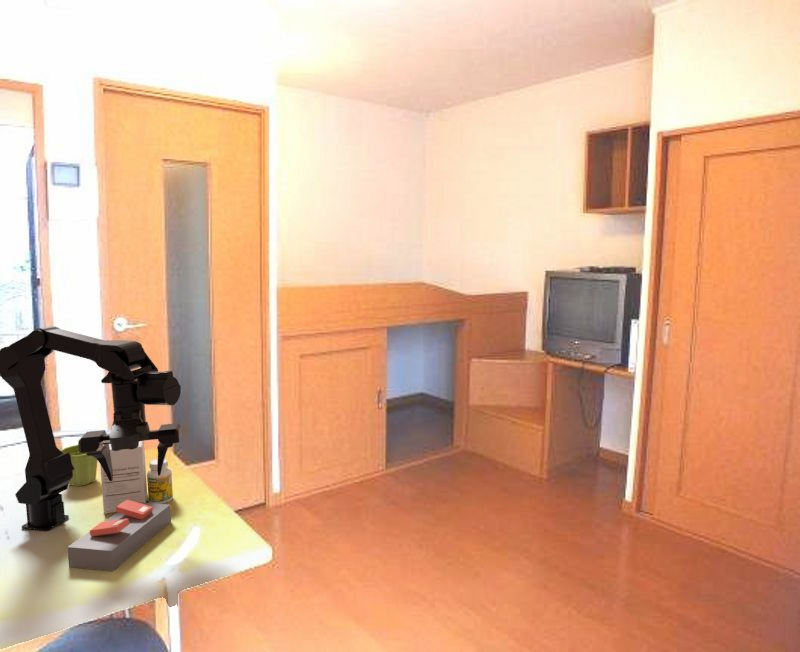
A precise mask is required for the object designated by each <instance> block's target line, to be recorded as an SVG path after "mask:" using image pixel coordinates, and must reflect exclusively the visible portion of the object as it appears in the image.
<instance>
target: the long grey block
mask: <svg viewBox="0 0 800 652" xmlns="http://www.w3.org/2000/svg"><path fill="white" fill-rule="evenodd" d="M138 503H141V504H145V505H148V506H152V507H153V509H152V513H150V514H149V515H148V516H146V517H145V518H144V519H142V520H141V519H138V518H134V517H131V516H127V515H124V514H121V513H117V512H115V513H114V514H113V515H111V516H110V517H108V518H107V519H105V520H104V521H103V522H106V521H113V520H120V519H127V518H128V519H129V523H130V524H129V525H128V526H126V527H125V528H124V529H122V530H121V531H120V532H118V533H112V534H105V535H98V536H91V535H90V531H89V532H87V533H85V534H84V535H83V536H81V537H80V538H79V539H77V540H75V541H74V542H72V543H71V544H69V545H68V546H67V557H68V559H67V561H68V568H73V569H74V568H75V569H85V570H87V569H88V570H94V571H95V570H97V571H106V572H107V571H108V572H114V571H115V570H116V569H117V568H119V566H120V565H122V564H123V563H124V562H126V561H127V560H129V558H130V557H131V556H132V555H134V554H135V553H136V552H137V551H138V550H139V549H141V548H142V547H143V546H144V545H146V544H147V543H148V542H149V541H150V540H152V539H153V538H154V537H155V536H156V535H157V534H159V533H160V532H161V531H162V530H163V529H165V528H166V527H167V526H169V524H171V523H172V514H171V513H172V512H171V504H167V503H163V504H156V503H150V502H146V503H143V502H138Z"/></svg>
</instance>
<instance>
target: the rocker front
mask: <svg viewBox="0 0 800 652" xmlns="http://www.w3.org/2000/svg"><path fill="white" fill-rule="evenodd" d="M129 524H130V523H129V519H128V518H127V519H120V520H113V521H106V522H104V521H100V522H99V523H98V524H97V525H95V526H94V527H92V528H91V529H89V530H88V531H89V532H90V535H91V536H98V535H105V534H112V533H118V532H120V531H121V530H122V529H124V528H125V527H126V526H128V525H129Z"/></svg>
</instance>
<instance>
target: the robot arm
mask: <svg viewBox="0 0 800 652" xmlns="http://www.w3.org/2000/svg"><path fill="white" fill-rule="evenodd" d="M54 351H56V352H60V353H64V354H67V355H71V356H75V357H79V358H81V359H82V358H83V359H86V360H90V361H92V362H94V363H95V364H96V365H97V367H99V368H101V369H102V370H104V371H106V372H107V374H106V375H105V376H104V377H103V378H102V379H101V381H100V382H101V383H102V384H111V393H112V403H113V421H112V425H111V428H110V432H109V434H107V431H106V430H104V429H102V430H92V431H86V432H85V433H84V434H83V436H81V438H80V439H79V440H78V441H77V442H78V443H77V445H78V449H79V452H80V453H85V452H87V453H86V454H87V455H88V456H93V457H95V458H96V459H97V462H98V463H99V464H101V466H102V468H103V469H104V471H105V473H106V475H107V477H108V479H109V481H112V480H113V469H112V462H111V455H110V448H109V444H111V448H112V450H113V451H119V450H123V449H130V450H132V449H136V448H137V447H138V446H139V441H144V442H145V441H153V440H158V441H157V442H158V445H157V446H156V449H157V459H158V464H157V471H158V476H160V474H161V471H162V467H163V463H164V459H166V456H167V455H166V454H167V452H168V449H169V448H172V447H174V445H175V444H177V443H180V441H181V439H182V437H183V431H182V430H183V427H182V425H181V424H180V423H178V422H175V423H167V424H166V423H165V424H164V423H163V424H161V425H160V427H159V429H152V430H150V425H149V423H148V422H147V418H146V410H145V409H146V405H148V406H175V404H177V403H178V401H179V400H180V396H181V390H182V389H181V388H182V387H181V384H180V383H179V381H178V379H177V378H176V377H175V376H174V372H173V370H164V371H159V369H158V368H157V366H156V364H154V362H153V361H152V360H151V358H150V357H149V356H148V354H147V353H146V352H145V349H144V347H143V345H142V343H140V342H138V341H136V340H122V339H118V340H105V339H101V338H97V337H93V336H88V335H84V334H81V333H78V332H73V331H69V330H65V329H61V328H59V327H58V326H53V325H52V326H44V327H38V328H36V329H34V330H32V331H31V332H30V333H28V335H26V336H24V337H22V338H20V339H18V340H16V341H14V342H12V343H11V344H9V345H8V346H5V347H2V348H0V378H1V379H2V380H3V381H4V382H5V383H7V385H9V386H10V388H12V390H13V392H14V393H13V394H14V396H15V399H16V405H17V408H18V412H19V416H20V421H21V423H22V427H23V433H24V436H25V437H24V438H25V440H26V444H27V448H28V452H29V457H28V459H27V462H26V466H25V469H24V474H25V483H23V485H22V486H21V487H20V488H19V489H17V491H16V493H15V494H14V495H15V498H16V500H17V502H18V504H23V505H25V508H26V509H25V510H26V511H25V512H26V523H23V524H22V525H21V529H22V530H23V529H24V530H35V531H49V530H51V529H53V528H55V527H56V526H58V525H59V524H61V523H62V522H64V521H66V520H67V519H69V514H65V503H64V501H63V494H62V492H64V491H66V490H68V489H69V486H70V485H69V482H70V480H71V478H72V477H73V471H72V470H74V467H73V465H72V463H71V455H70V454H69V453H65V454H64V453H63V452H61V450H60V449H59V448H58V447H57V444H56V440H55V435H54V432H53V427H52V423H51V420H50V415H49V410H48V407H47V403H46V399H45V396H44V390H43V386H42V380H43V377H44V375H45V374H44V373H45V371H46V362H45V361H46V358H48V356H49V355H51V354H52V353H53V352H54ZM101 466H100V467H101Z"/></svg>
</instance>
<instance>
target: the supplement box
mask: <svg viewBox="0 0 800 652" xmlns="http://www.w3.org/2000/svg"><path fill="white" fill-rule="evenodd" d="M109 448H110V455H111V462H112V469H113V480H112V481H109V479H108V477H107V475H106V473H105V471H104V469H103V468H102V466H101V464H100V463H99V464H100V465H99V466H100V478H101V493H102V495H101V496H102V505H103V506H102V507H103V509H102V510H103V514H104V515H106V514H112V513H117V512H116V507H117V506H118V505H120V504H121V503H122V502H124V501H125V500H127V499H128V500H131V501H134V502H143V503H147V497H148V482H147V467H146V453H145V440H144V441H139V446H138V447H137V448H136V449H132V450H130V449H123V450H119V451H113V450H112V448H111V444H109Z"/></svg>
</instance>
